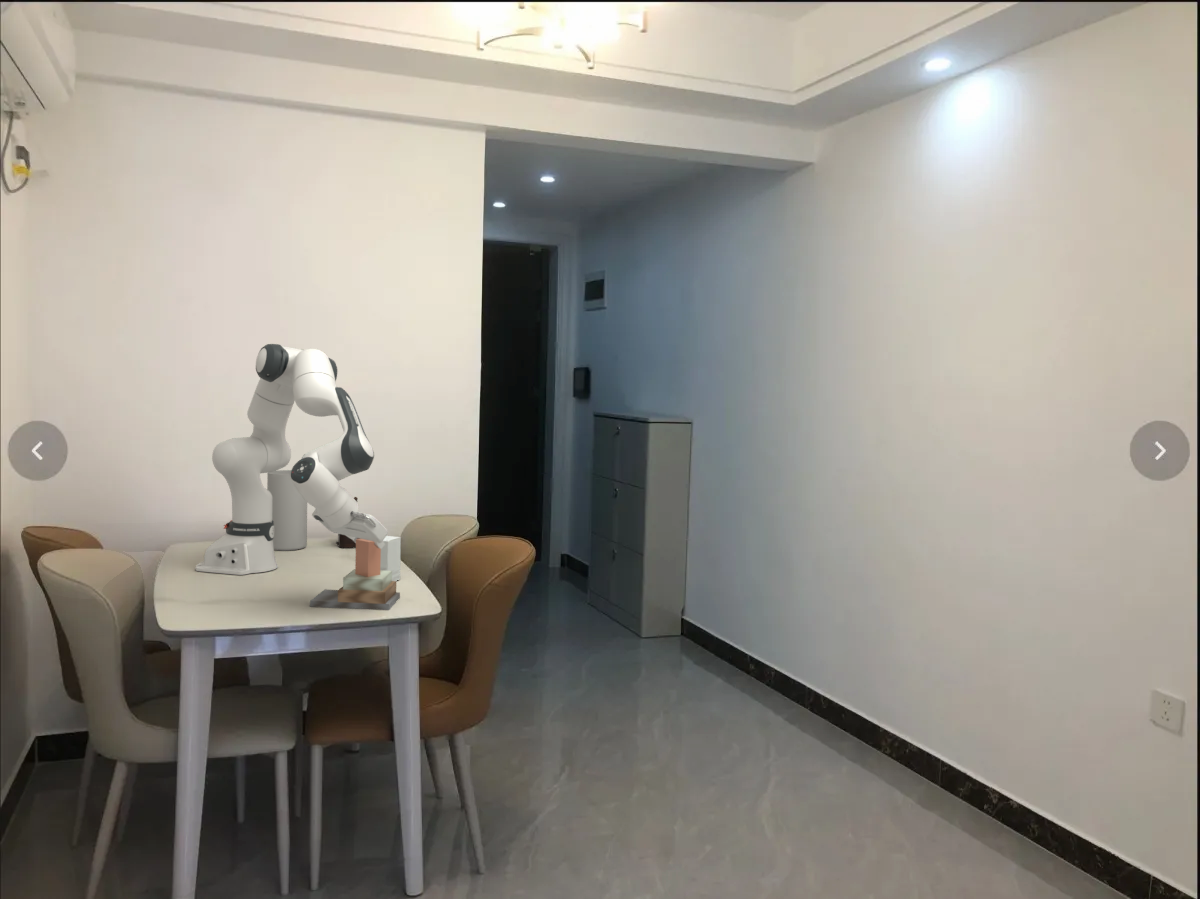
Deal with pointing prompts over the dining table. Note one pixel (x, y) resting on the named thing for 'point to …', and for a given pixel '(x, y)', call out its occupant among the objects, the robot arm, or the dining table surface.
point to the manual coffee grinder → (346, 539)
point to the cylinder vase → (287, 512)
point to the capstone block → (367, 558)
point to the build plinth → (333, 598)
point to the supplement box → (391, 556)
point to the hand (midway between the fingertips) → (370, 543)
